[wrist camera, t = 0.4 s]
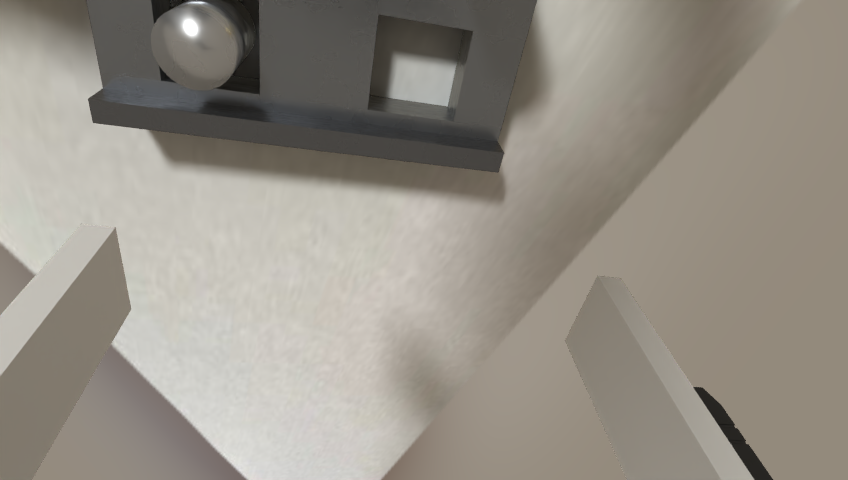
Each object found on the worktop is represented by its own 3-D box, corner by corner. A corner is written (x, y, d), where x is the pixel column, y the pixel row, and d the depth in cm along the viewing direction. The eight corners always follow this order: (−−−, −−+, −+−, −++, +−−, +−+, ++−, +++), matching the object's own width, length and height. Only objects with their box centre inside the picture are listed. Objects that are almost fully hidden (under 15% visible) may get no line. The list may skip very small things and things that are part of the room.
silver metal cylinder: (181, -15, 30) (145, 1, 25) (255, -3, 31) (233, 15, 26) (188, 57, 33) (156, 84, 28) (256, 67, 33) (236, 95, 29)
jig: (95, -93, 28) (47, -92, 24) (524, -10, 32) (547, 3, 28) (126, 96, 34) (92, 122, 30) (484, 143, 38) (498, 172, 34)
